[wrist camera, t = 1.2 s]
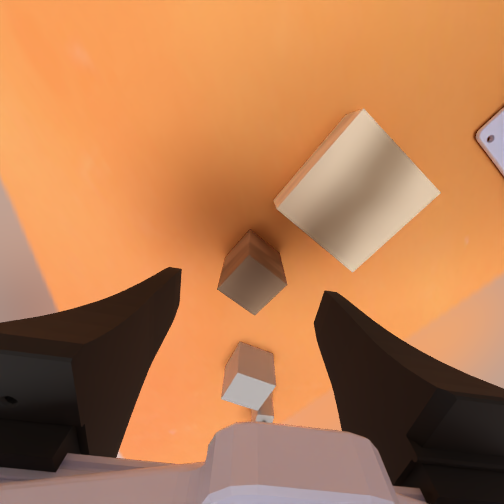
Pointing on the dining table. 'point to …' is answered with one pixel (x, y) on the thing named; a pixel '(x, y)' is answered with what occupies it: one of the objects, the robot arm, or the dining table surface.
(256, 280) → the walnut block
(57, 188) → the dining table surface
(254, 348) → the grey block
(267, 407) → the lighter
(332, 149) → the birch block
